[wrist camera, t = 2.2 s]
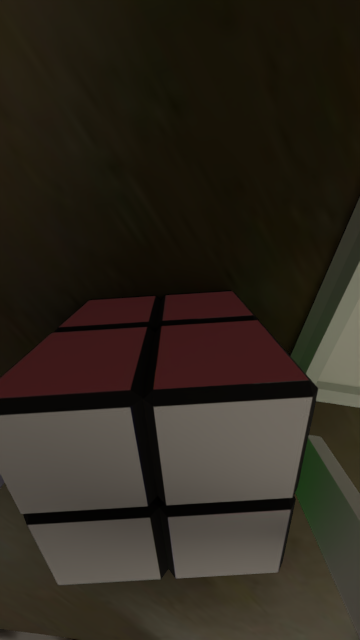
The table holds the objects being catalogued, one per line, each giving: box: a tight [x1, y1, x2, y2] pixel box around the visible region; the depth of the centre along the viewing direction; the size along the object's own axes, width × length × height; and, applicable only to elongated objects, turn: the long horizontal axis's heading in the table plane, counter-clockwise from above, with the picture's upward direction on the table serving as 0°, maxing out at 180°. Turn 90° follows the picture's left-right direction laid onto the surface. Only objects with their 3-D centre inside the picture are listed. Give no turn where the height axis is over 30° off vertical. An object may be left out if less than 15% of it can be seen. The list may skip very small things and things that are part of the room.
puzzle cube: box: [0, 291, 318, 585], centre depth 13 cm, size 10×10×10 cm
